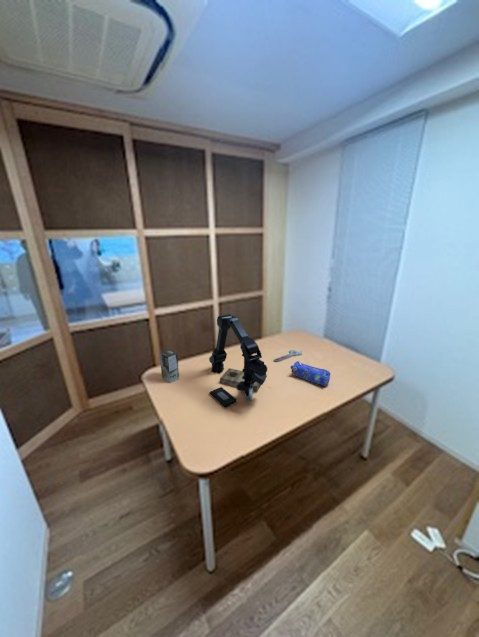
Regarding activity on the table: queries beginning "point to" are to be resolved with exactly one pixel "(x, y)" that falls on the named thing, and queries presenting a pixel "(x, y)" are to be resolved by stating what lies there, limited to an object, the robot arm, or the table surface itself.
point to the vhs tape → (223, 397)
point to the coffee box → (169, 365)
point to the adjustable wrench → (289, 355)
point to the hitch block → (235, 379)
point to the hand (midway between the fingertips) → (248, 393)
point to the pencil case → (311, 373)
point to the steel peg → (249, 395)
